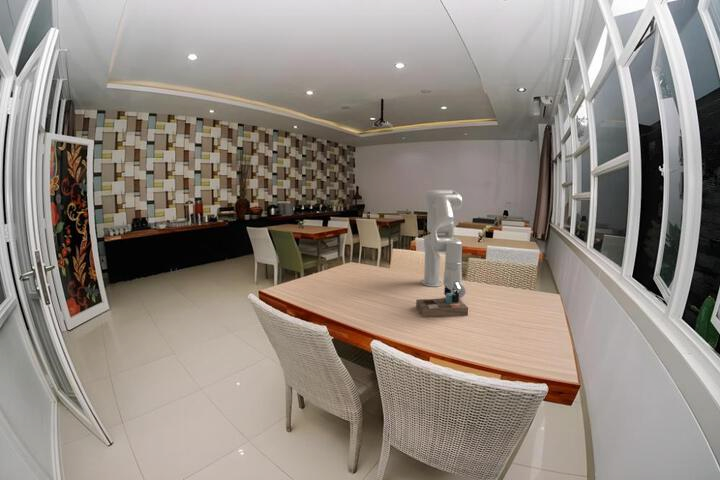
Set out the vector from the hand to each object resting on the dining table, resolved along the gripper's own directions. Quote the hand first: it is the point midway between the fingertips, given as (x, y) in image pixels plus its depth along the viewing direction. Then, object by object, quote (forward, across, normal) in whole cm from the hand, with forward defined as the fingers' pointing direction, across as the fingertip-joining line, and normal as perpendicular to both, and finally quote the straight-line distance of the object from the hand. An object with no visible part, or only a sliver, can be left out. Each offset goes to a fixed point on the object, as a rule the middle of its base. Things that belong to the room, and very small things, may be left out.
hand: (451, 298), depth 143 cm
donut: (+6, -14, +8) cm, 17 cm away
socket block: (+6, +2, -6) cm, 8 cm away
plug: (+6, 0, 0) cm, 6 cm away
